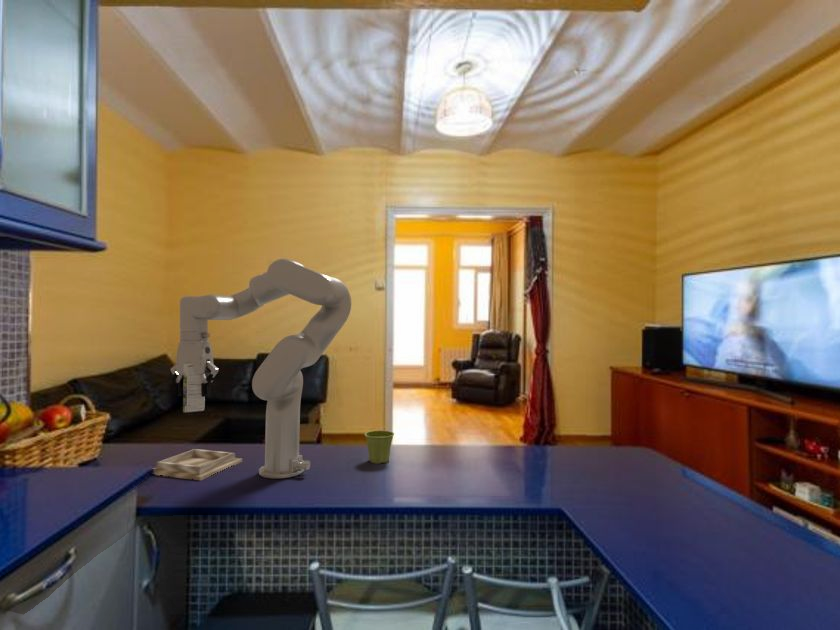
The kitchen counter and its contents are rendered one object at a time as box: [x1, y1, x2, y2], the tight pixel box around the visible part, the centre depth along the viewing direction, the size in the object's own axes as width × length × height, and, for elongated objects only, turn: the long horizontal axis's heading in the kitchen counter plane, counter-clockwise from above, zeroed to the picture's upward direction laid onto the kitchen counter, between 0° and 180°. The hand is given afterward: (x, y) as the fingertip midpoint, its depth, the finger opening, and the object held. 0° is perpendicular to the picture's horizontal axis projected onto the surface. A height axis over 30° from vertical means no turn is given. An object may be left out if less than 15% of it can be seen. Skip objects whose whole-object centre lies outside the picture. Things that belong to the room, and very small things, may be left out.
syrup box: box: [182, 363, 206, 413], centre depth 139 cm, size 6×6×14 cm
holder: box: [152, 448, 243, 481], centre depth 138 cm, size 18×18×3 cm
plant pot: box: [364, 430, 395, 464], centre depth 147 cm, size 9×9×9 cm
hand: (194, 395), depth 139 cm, fingers closed on syrup box, 7 cm apart
